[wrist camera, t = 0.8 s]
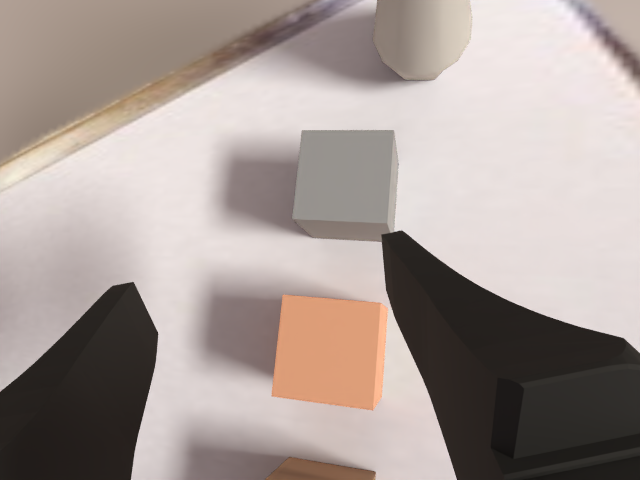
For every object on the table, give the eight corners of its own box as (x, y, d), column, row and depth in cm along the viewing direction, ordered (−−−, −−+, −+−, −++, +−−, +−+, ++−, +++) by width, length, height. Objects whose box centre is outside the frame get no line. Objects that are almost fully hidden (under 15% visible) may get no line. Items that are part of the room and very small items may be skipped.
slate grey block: (393, 242, 28) (387, 223, 23) (313, 238, 29) (291, 218, 24) (398, 164, 29) (394, 130, 24) (321, 163, 30) (301, 130, 25)
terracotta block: (381, 396, 26) (373, 410, 21) (297, 385, 27) (271, 396, 22) (387, 308, 27) (380, 302, 22) (306, 301, 28) (282, 294, 23)
